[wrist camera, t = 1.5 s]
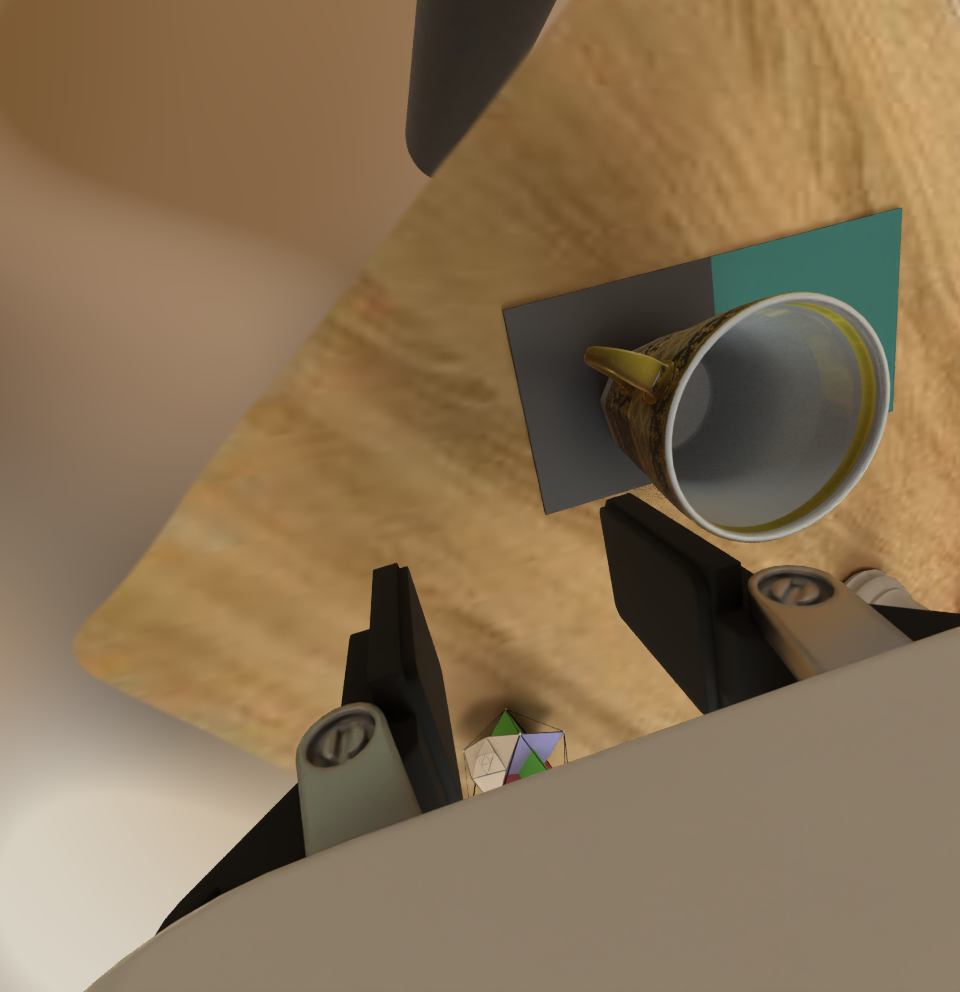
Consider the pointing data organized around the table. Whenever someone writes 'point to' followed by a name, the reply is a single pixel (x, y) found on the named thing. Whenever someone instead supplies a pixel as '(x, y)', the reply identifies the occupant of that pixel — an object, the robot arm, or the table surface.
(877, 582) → the rook chess piece
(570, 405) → the plate
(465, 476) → the table surface
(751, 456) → the ceramic cup
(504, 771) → the geometric puzzle
